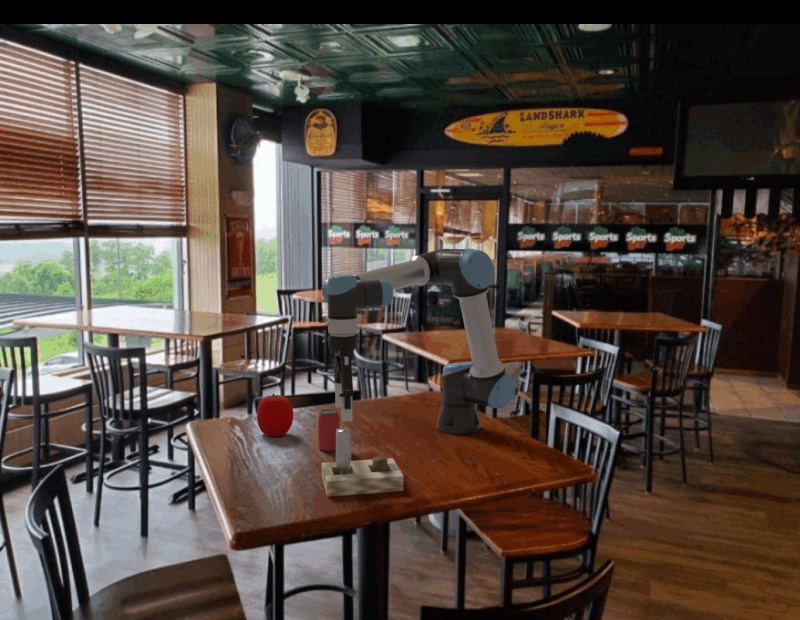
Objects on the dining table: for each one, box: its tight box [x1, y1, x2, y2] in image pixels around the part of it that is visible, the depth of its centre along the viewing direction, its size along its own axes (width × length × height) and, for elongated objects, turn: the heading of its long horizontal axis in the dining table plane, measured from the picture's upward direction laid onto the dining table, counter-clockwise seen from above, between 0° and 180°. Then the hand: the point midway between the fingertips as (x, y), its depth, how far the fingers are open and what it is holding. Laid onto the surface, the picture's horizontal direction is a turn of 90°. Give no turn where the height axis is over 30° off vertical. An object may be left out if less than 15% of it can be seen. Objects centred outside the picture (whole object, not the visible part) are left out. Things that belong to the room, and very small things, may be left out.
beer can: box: [318, 408, 341, 452], centre depth 202 cm, size 7×7×12 cm
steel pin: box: [335, 427, 352, 475], centre depth 172 cm, size 4×4×14 cm
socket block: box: [321, 456, 404, 497], centre depth 174 cm, size 20×14×6 cm
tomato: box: [256, 393, 294, 438], centre depth 215 cm, size 13×11×14 cm
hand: (343, 413), depth 171 cm, fingers open, 13 cm apart
